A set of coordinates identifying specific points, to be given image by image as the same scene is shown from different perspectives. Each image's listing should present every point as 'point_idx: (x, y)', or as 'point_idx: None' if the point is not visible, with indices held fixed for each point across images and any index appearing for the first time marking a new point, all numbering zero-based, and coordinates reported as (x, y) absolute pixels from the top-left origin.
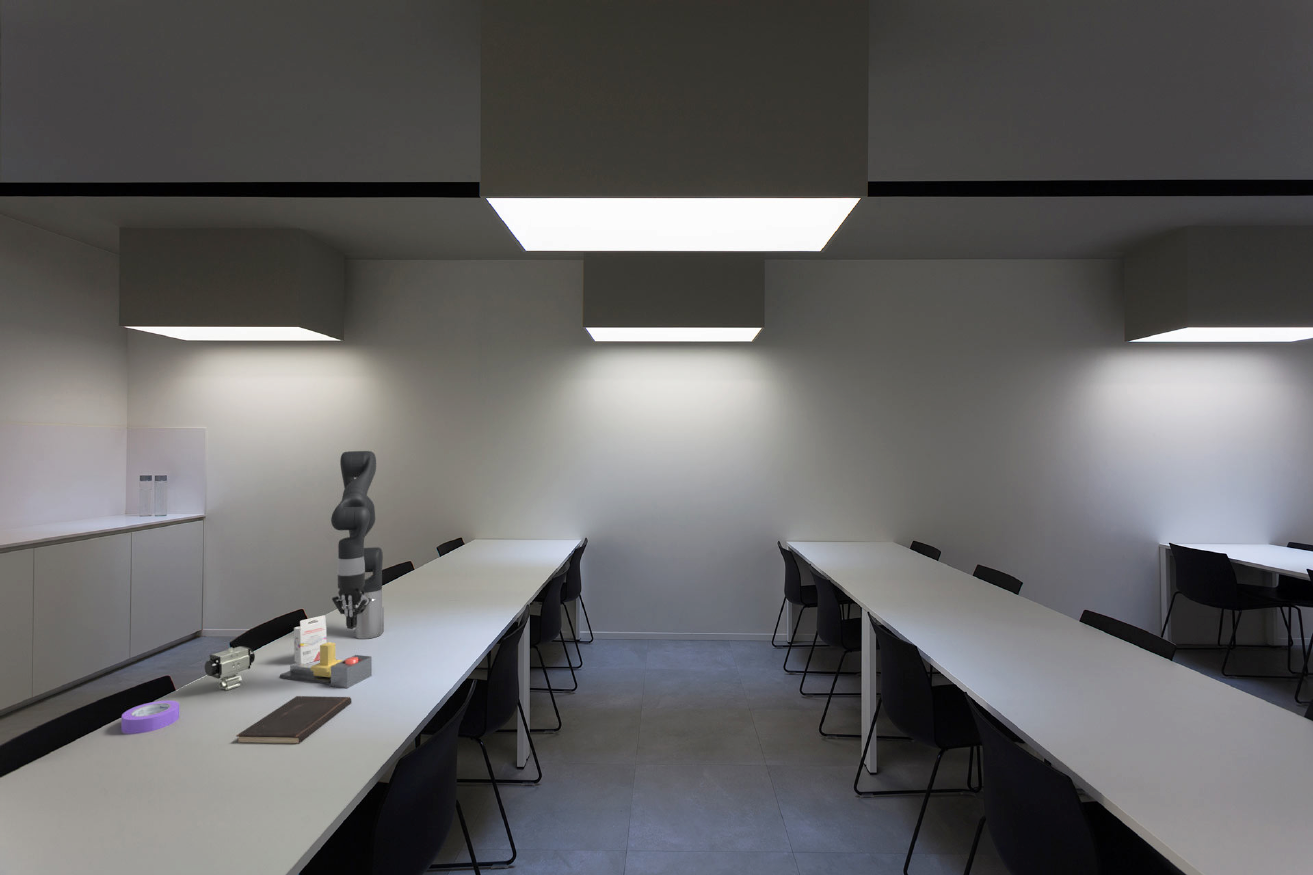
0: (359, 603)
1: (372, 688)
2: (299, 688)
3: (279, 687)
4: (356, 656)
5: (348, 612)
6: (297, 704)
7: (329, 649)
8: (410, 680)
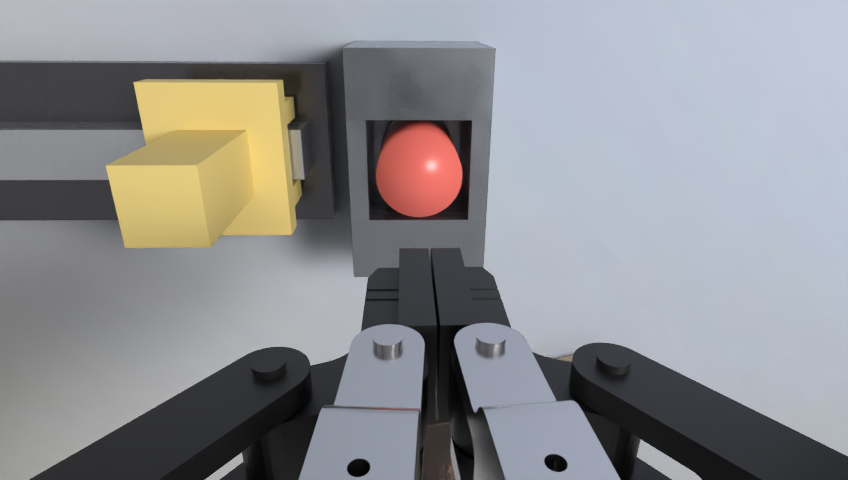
0: (600, 465)
1: (601, 196)
2: (234, 289)
3: (127, 304)
4: (377, 78)
5: (422, 469)
6: (436, 463)
7: (219, 217)
8: (759, 44)
